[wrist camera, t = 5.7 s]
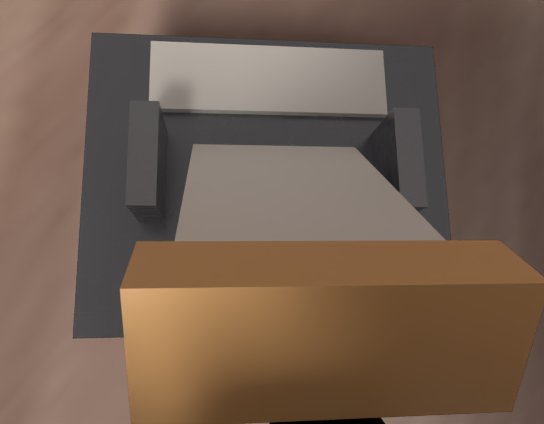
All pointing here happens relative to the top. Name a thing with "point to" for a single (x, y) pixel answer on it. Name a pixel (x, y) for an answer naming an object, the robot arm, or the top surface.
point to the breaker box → (236, 133)
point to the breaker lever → (318, 300)
